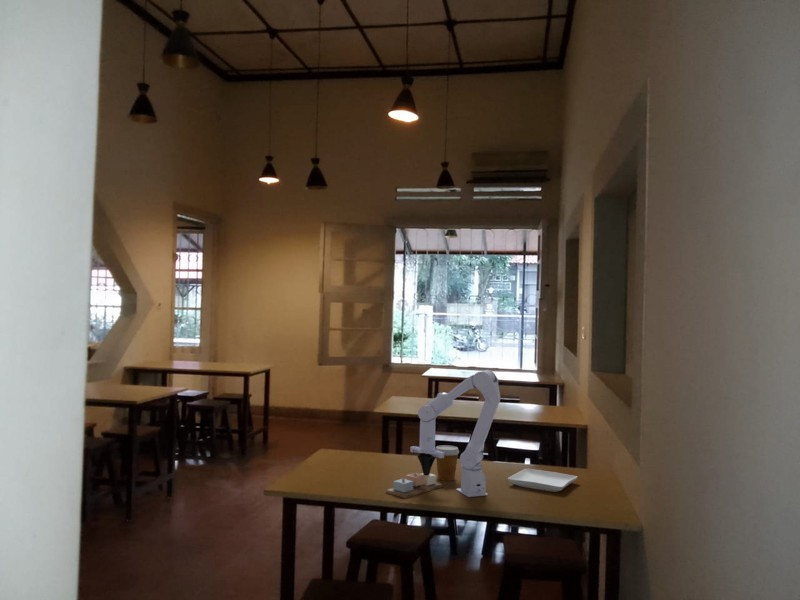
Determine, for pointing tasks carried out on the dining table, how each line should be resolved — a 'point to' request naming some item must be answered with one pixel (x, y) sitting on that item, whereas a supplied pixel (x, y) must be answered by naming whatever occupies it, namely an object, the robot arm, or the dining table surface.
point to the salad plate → (542, 480)
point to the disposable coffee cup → (447, 462)
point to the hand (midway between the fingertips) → (426, 474)
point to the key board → (414, 490)
